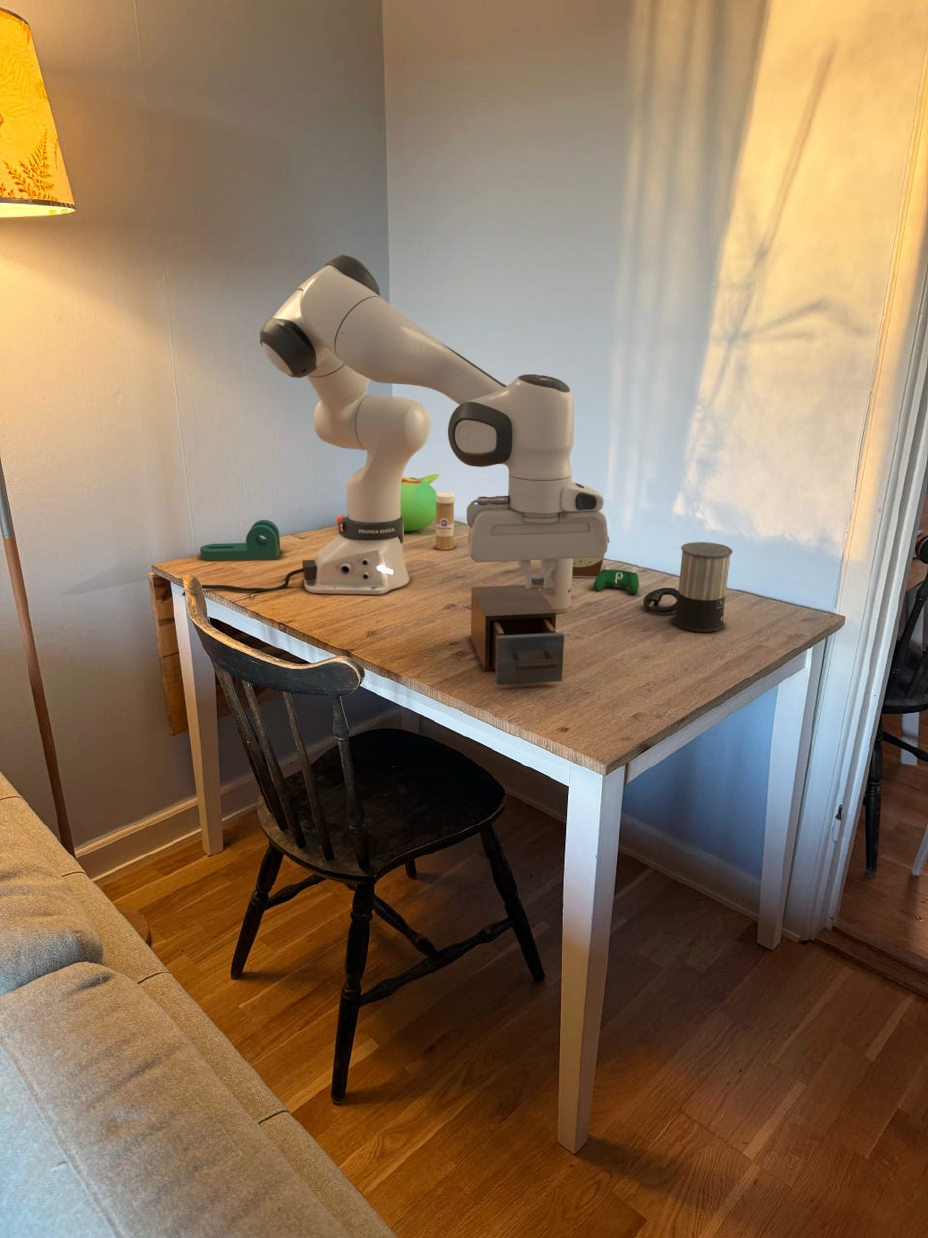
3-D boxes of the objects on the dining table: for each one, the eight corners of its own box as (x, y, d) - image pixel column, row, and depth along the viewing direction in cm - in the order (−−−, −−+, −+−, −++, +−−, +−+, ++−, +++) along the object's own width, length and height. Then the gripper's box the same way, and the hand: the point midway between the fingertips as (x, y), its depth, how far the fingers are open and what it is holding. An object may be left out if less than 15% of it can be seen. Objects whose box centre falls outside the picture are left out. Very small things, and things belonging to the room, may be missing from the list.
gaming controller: (637, 600, 173) (642, 575, 175) (637, 592, 169) (641, 566, 172) (594, 595, 176) (598, 571, 178) (592, 587, 172) (597, 562, 175)
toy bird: (364, 535, 213) (362, 479, 208) (381, 520, 228) (379, 467, 223) (433, 539, 210) (432, 482, 205) (445, 523, 226) (445, 469, 221)
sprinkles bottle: (437, 550, 200) (436, 496, 196) (434, 545, 205) (434, 492, 200) (455, 549, 201) (455, 495, 196) (452, 544, 205) (452, 491, 201)
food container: (605, 569, 187) (608, 526, 183) (606, 578, 181) (610, 534, 178) (550, 567, 188) (552, 525, 184) (550, 576, 182) (552, 532, 179)
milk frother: (721, 636, 150) (731, 557, 144) (634, 624, 155) (641, 548, 150) (726, 611, 162) (736, 537, 157) (646, 601, 167) (652, 530, 162)
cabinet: (553, 667, 136) (556, 612, 133) (484, 670, 135) (485, 616, 131) (533, 634, 150) (535, 584, 147) (470, 637, 148) (471, 587, 145)
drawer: (570, 694, 125) (572, 647, 122) (502, 698, 123) (503, 650, 120) (541, 648, 142) (543, 605, 139) (482, 651, 140) (482, 608, 137)
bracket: (280, 551, 199) (278, 519, 196) (277, 559, 193) (274, 526, 190) (204, 552, 197) (200, 520, 195) (198, 561, 191) (194, 528, 188)
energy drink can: (575, 612, 161) (579, 537, 155) (546, 615, 159) (549, 540, 154) (563, 602, 166) (566, 530, 161) (535, 605, 165) (538, 532, 159)
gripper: (470, 501, 112) (469, 597, 117) (614, 497, 115) (608, 591, 120) (463, 492, 118) (463, 583, 123) (601, 488, 121) (595, 578, 126)
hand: (535, 587), depth 122 cm, fingers closed
